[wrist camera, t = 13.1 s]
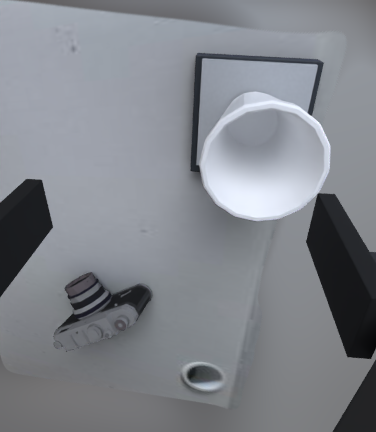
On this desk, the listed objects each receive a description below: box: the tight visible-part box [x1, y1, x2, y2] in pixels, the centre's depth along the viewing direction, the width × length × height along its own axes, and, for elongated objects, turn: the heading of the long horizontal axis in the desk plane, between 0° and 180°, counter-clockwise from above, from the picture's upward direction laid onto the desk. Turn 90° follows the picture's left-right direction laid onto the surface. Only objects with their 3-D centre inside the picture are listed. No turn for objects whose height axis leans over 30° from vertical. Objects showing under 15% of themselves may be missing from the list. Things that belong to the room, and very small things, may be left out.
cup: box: [199, 91, 330, 221], centre depth 32 cm, size 10×10×13 cm
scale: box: [191, 53, 324, 172], centre depth 39 cm, size 13×13×4 cm
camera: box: [53, 272, 152, 352], centre depth 53 cm, size 16×9×10 cm, turn 120°
